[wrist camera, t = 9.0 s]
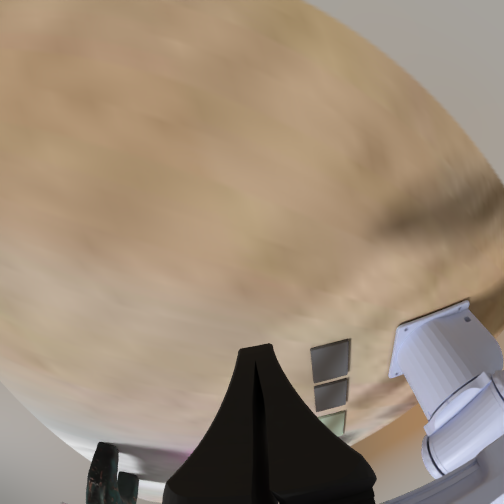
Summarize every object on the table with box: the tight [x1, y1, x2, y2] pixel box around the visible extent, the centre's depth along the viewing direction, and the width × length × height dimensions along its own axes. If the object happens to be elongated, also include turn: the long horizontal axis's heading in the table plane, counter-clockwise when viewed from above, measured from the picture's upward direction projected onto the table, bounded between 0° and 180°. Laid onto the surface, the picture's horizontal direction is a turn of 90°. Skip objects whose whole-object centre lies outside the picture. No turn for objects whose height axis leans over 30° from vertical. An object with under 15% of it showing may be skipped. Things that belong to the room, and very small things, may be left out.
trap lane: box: [310, 339, 349, 437], centre depth 30 cm, size 21×29×2 cm
